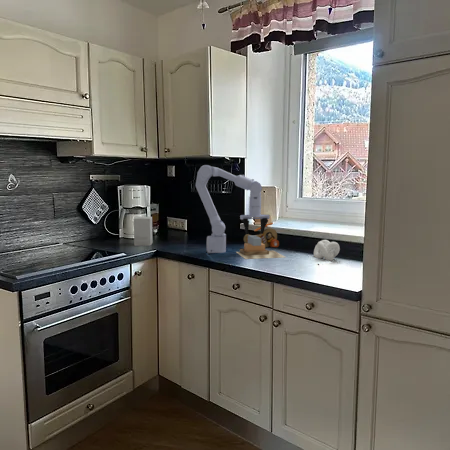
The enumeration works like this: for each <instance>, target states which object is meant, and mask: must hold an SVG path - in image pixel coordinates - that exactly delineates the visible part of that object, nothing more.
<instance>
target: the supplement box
mask: <svg viewBox="0 0 450 450" xmlns="http://www.w3.org/2000/svg"><path fill="white" fill-rule="evenodd" d="M133 243H134V244H133V245H134V247H138V246H139V247H143V246H144V247H147V246H149V247H150V246H151V245H152V244H153V216H136V217H134V218H133Z"/></svg>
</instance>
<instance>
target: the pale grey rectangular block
mask: <svg viewBox="0 0 450 450" xmlns="http://www.w3.org/2000/svg"><path fill="white" fill-rule="evenodd" d="M251 235H252V234H251ZM256 235H257V234H255V235H252V236H248V243H249V244H251V245H253V246H261V238H260V237H258V236H256Z"/></svg>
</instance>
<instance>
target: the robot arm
mask: <svg viewBox="0 0 450 450" xmlns="http://www.w3.org/2000/svg"><path fill="white" fill-rule="evenodd" d="M196 173H197V175H196V181H195V188H196V190H197V193H198V195H199V197H200V200H201V202H202V203H203V206H204V209H205V211H206V214H207V216H208V218H209V223H210V225H211V235H207V236H206V252H207V254H214V253H215V254H216V253H217V254H222V253H226V251H227V248H226V247H227V234H226V233H225V231H226V225H225V223H224V221H222V220H221V217H220V215H219V213H218V211H217V209H216V206H215V205H214V202H213V199H212V197H211V195H210V192H209V190H208V188H207V184H208V181H209V180H210V179H211V177H221V178H223V179H226V180H227V181H228V180H229V181H231V182H234V185H235V186H236V187H238V188H241V189H243V190H246V191H250V192H249V194H250V196H249V204H248V207H249V208H248V211H249V212H248V214H241V215H240V216H239V217H240V218H239V219H240V220H241V222H242V223H243V226H244V230H245V235H247V234H249V233H250V232H249V229H250V228H249V225H250V220H260V221H259V222H260V227H261V229H260V233H261V234H263V232H264V229H265V226H266V224H268V222H269V220H270V214H262V193H261V192H262V190H263V188H262V184H261V183H260V182H259V181H257V180H255V179H253V178H252V179H251V178H249V177H247V176H246V175H245V174H239V175H235V174H232V173H231V172H229V171H226V170H224V169H222V168H219V167H216V166H211V165H209V164H204V165H202V166H200V168H199V169H198V171H197V172H196Z"/></svg>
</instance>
